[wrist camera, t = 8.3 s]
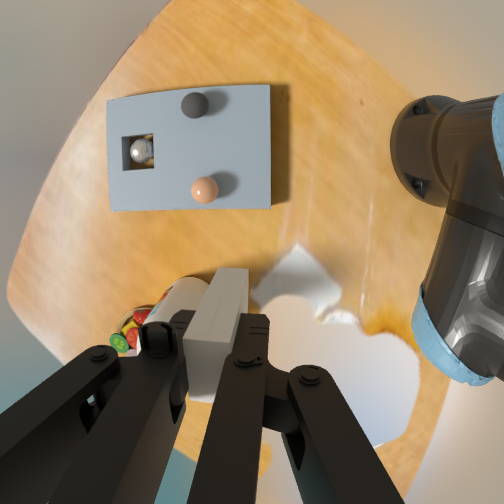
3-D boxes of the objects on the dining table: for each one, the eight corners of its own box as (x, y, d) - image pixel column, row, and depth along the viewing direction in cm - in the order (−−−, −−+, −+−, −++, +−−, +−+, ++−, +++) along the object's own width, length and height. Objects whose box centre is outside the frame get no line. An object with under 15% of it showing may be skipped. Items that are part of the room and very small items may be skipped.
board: (270, 88, 36) (269, 84, 33) (270, 205, 40) (270, 208, 38) (115, 102, 37) (106, 100, 35) (119, 208, 42) (110, 211, 39)
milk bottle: (194, 264, 43) (139, 345, 24) (230, 305, 45) (202, 404, 26) (157, 294, 45) (94, 378, 26) (192, 331, 47) (150, 428, 28)
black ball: (211, 93, 34) (205, 88, 31) (211, 119, 35) (205, 116, 32) (185, 95, 34) (177, 91, 31) (185, 120, 35) (177, 118, 32)
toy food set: (213, 349, 48) (209, 361, 45) (161, 384, 51) (156, 396, 48) (151, 288, 45) (143, 298, 42) (105, 332, 49) (97, 342, 45)
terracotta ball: (220, 174, 37) (215, 176, 34) (221, 201, 38) (216, 205, 35) (194, 175, 37) (187, 177, 34) (195, 201, 38) (188, 206, 35)
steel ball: (151, 136, 36) (126, 139, 35) (151, 162, 37) (127, 164, 36) (155, 138, 39) (132, 140, 38) (156, 161, 40) (133, 163, 39)
